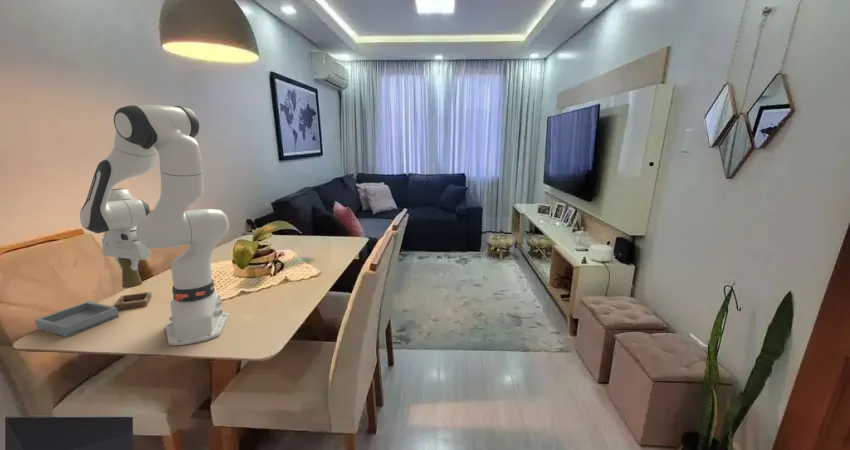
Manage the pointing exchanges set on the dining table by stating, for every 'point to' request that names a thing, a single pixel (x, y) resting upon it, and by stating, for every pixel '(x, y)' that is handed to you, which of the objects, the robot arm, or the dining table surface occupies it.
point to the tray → (76, 318)
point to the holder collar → (122, 306)
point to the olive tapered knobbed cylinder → (129, 274)
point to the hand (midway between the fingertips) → (129, 269)
